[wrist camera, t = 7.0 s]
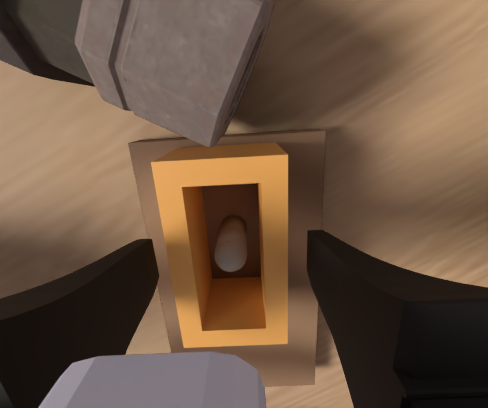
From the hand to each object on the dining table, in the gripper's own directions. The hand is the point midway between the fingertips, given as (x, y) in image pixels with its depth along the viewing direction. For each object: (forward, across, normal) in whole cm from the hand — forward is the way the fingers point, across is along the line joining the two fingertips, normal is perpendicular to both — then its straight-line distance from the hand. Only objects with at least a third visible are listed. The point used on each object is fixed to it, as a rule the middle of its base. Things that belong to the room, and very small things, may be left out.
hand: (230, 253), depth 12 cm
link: (+3, 0, 0) cm, 3 cm away
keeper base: (+4, 0, +4) cm, 6 cm away
